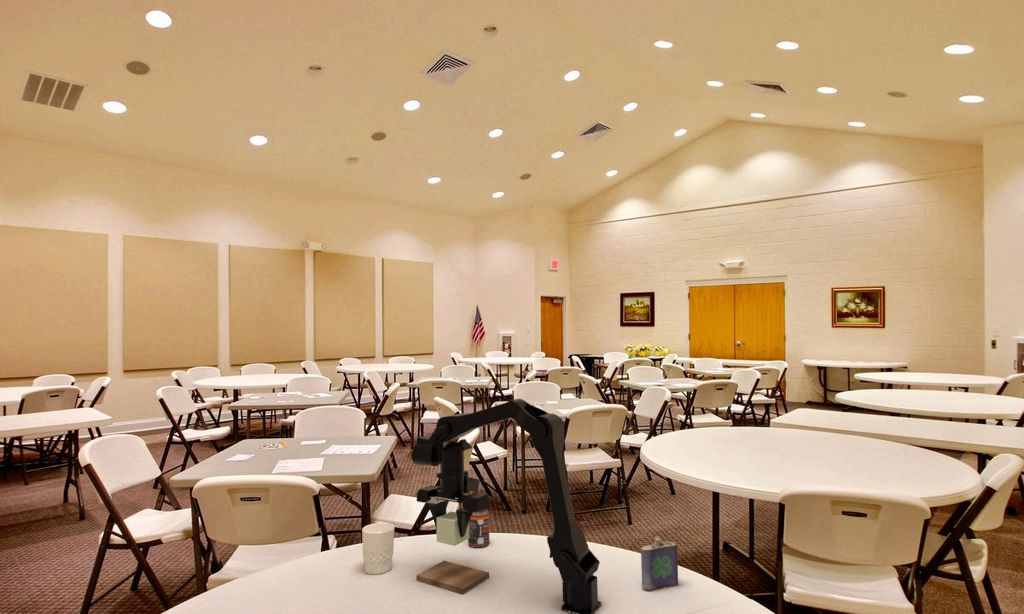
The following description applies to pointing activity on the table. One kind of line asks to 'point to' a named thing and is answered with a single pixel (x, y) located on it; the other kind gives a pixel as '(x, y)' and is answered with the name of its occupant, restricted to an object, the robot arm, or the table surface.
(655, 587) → the flask
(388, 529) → the white cup
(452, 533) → the sage cube
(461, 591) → the walnut board
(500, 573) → the table surface
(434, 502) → the robot arm
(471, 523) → the supplement bottle
